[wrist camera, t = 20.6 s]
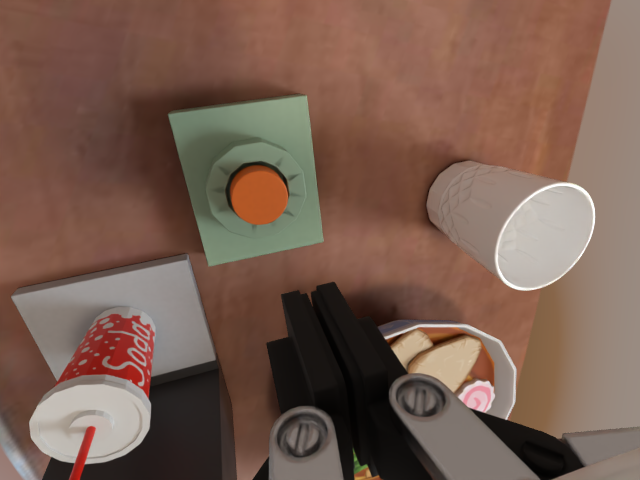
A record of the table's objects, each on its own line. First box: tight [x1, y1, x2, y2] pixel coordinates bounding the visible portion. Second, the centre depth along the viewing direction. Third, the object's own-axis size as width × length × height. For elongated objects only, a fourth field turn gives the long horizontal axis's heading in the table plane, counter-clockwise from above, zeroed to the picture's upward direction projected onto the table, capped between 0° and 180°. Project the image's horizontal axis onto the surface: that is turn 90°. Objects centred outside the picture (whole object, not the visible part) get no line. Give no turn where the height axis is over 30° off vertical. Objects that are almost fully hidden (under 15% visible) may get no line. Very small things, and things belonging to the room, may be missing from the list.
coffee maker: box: [11, 254, 237, 480], centre depth 22 cm, size 17×12×22 cm
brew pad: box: [168, 94, 323, 266], centre depth 27 cm, size 11×9×4 cm
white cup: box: [426, 161, 595, 291], centre depth 30 cm, size 8×8×10 cm
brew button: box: [230, 165, 288, 225], centre depth 25 cm, size 4×4×2 cm
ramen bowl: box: [353, 320, 516, 480], centre depth 36 cm, size 25×23×8 cm
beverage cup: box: [29, 307, 156, 480], centre depth 23 cm, size 6×6×14 cm
